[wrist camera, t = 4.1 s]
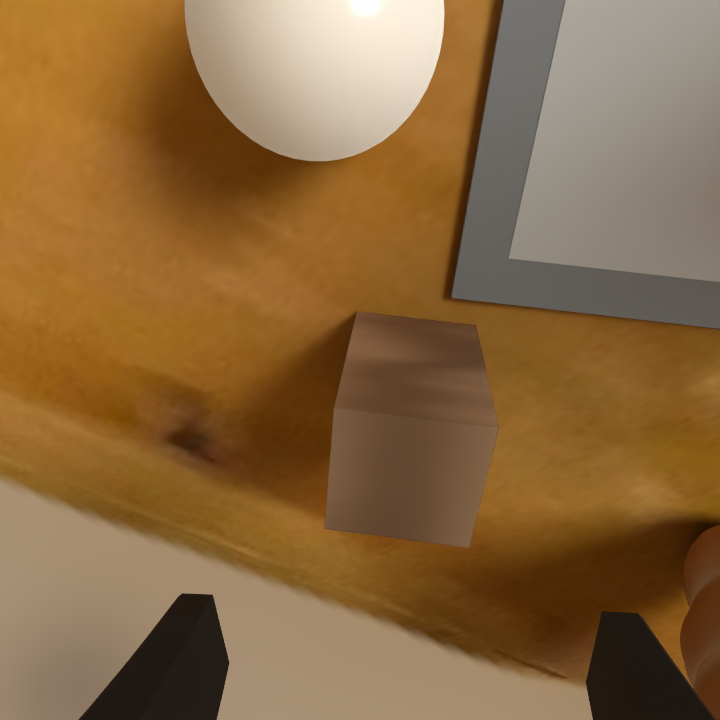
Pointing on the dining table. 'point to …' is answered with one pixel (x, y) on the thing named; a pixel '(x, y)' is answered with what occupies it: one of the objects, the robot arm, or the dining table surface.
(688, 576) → the cat ice cream
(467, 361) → the walnut block
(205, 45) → the cream rounded capsule
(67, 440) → the dining table surface
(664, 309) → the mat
